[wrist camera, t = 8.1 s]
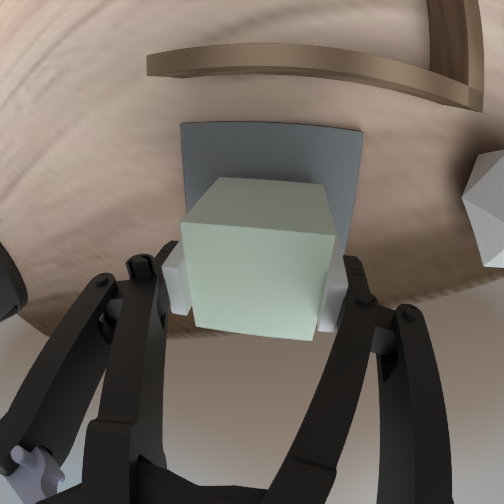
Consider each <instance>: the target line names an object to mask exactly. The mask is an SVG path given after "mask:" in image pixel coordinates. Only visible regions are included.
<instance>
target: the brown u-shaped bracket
mask: <svg viewBox="0 0 504 504" xmlns="http://www.w3.org/2000/svg"><path fill="white" fill-rule="evenodd" d="M427 5H428V15H429V29H430V71H429V70H426V69H423V68H420V67H416V66H413V65H410V64H406V63H403V62H399V61H396V60H392V59H388V58H384V57H379V56H375V55H370V54H365V53H360V52H355V51H349V50H343V49H336V48H329V47H320V46H311V45H298V44H278V43H244V44H224V45H211V46H201V47H193V48H186V49H179V50H173V51H167V52H161V53H156V54H151V55H147V76H160V77H174V78H188V77H199V76H211V75H230V74H276V75H295V76H308V77H318V78H327V79H335V80H342V81H349V82H355V83H360V84H366V85H371V86H376V87H381V88H385V89H390V90H394V91H398V92H402V93H406V94H409V95H413V96H417V97H420V98H423V99H427V100H430V101H433V102H436V103H439V104H442V105H448V106H453V107H458V108H463V109H468V110H472V111H477V112H481V113H482V109H483V95H484V48H483V35H482V25H481V17H480V10H479V4H478V0H427Z"/></svg>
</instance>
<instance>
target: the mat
mask: <svg viewBox="0 0 504 504" xmlns="http://www.w3.org/2000/svg"><path fill="white" fill-rule="evenodd" d="M180 128H181V146H182V161H183V174H184V186H185V197H186V208H187V213H188V212H189V211H190V210H191V209H192V208H193V206H194V205H195V204H196V203H197V202H198V201H199V199H200V198H201V197H202V196H203V195H204V194H205V193H206V191H207V190H208V189H209V188H210V187H211V186H212V185H213V184H214V182H215V181H216V180H217V179H218V178H219V177H227V178H248V179H264V180H277V181H290V182H301V183H311V184H320V185H323V186H324V189H325V193H326V197H327V201H328V205H329V209H330V214H333V218H334V222H335V226H336V230H337V234H338V238H339V243H340V247H341V251H342V255H344V253H345V248H346V243H347V238H348V233H349V228H350V223H351V218H352V212H353V206H354V201H355V194H356V188H357V182H358V175H359V168H360V160H361V152H362V143H363V134H364V132H362V131H357V130H350V129H343V128H335V127H327V126H318V125H307V124H295V123H280V122H255V121H214V122H190V123H182V124H180Z"/></svg>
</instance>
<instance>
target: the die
mask: <svg viewBox="0 0 504 504" xmlns="http://www.w3.org/2000/svg"><path fill="white" fill-rule="evenodd" d="M462 200H463V203H464V206H465V208H466V211H467V214H468V217H469V220H470V223H471V225H472V228H473V231H474V235H475V238H476V241H477V244H478V248H479V251H480V255H481V258H482V262H483V266H486V267H502V268H504V150H499V151H494V152H489V153H483V154H478V156H477V159H476V162H475V165H474V167H473V170H472V173H471V175H470V178H469V180H468V183H467V185H466V188H465V190H464V193H463V195H462Z"/></svg>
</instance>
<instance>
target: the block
mask: <svg viewBox="0 0 504 504" xmlns="http://www.w3.org/2000/svg"><path fill="white" fill-rule="evenodd" d="M180 225H181V234H182V242H183V249H184V256H185V259H186V266H187V273H188V279H189V285H190V291H191V297H192V303H193V304H192V307H193V313H194V318H195V324H196V326H197V327H203V328H209V329H216V330H222V331H229V332H236V333H243V334H252V335H259V336H268V337H278V338H286V339H297V340H309V341H312V338H313V334H314V331H315V327H316V323H317V319H318V314H319V309H320V305H321V301H322V296H323V292H324V287H325V283H326V278H327V273H328V271H329V266H330V262H331V257H332V252H333V246H334V241H335V231H334V227H333V222H332V218H331V214H330V209H329V205H328V201H327V197H326V193H325V189H324V186H323V185H320V184H311V183H301V182H290V181H277V180H264V179H248V178H227V177H219V178H218V179H217V180H216V181H215V182H214V184H213V185H212V186H211V187H210V188H209V189H208V190H207V191H206V193H205V194H204V195H203V196H202V197H201V198H200V199H199V201H198V202H197V203H196V204H195V205H194V206H193V208H192V209H191V210H190V211H189V212H188V213H187V215H186V216H185V217H184V218H183V219H182V221H181V222H180Z"/></svg>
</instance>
